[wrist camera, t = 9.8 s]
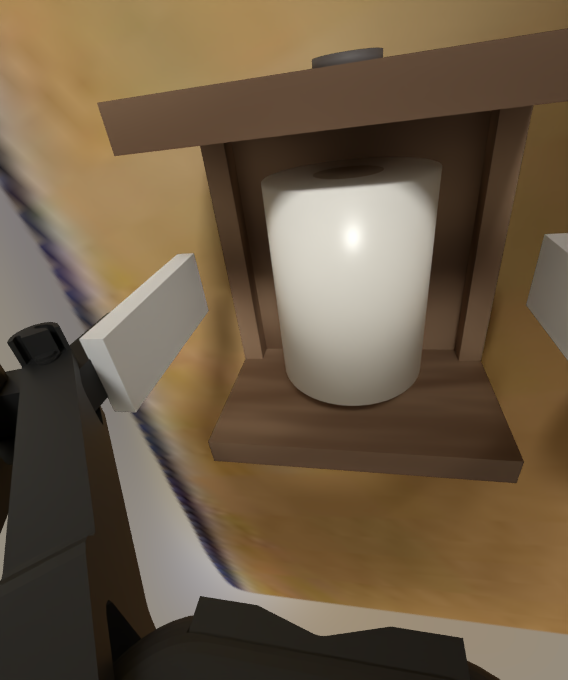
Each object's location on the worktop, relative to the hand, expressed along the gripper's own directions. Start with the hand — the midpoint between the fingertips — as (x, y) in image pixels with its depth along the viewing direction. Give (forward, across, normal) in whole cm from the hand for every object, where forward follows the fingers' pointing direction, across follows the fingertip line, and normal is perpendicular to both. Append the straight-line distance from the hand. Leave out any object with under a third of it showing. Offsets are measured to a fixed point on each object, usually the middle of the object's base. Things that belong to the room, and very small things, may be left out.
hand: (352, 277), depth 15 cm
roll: (+3, -1, 0) cm, 3 cm away
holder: (+4, 0, 0) cm, 4 cm away
